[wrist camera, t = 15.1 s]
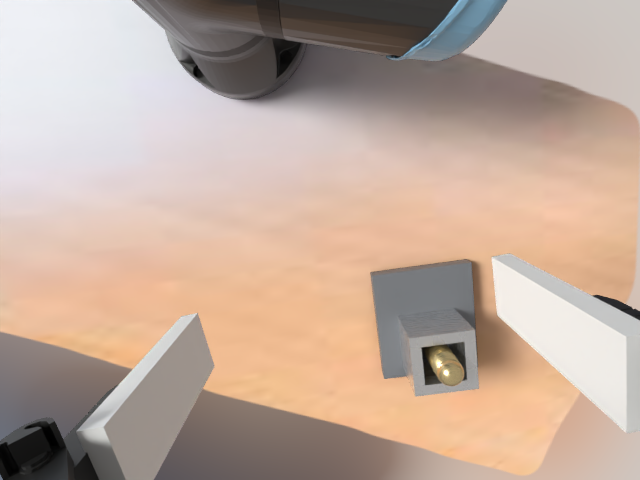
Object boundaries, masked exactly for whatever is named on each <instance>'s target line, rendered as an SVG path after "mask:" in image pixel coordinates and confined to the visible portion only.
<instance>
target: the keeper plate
mask: <svg viewBox="0 0 640 480" xmlns="http://www.w3.org/2000/svg"><path fill="white" fill-rule="evenodd" d="M370 273H371V281H372V290H373V298H374V306H375V314H376V323H377V331H378V339H379V348H380V356H381V364H382V372H383V376H384V379H388V378H396V377H404V376H407V375H406V373H405V370H404V368H403V364H402V355H401V346H400V337H399V328H398V319H397V315H405V314H412V313H420V312H427V311H434V310H442V309H449V308H454V309H455V310H456V311H457V312H458V313H459V314H460V315H461V316H462V317H463V318H464V319H465V320H466V321H467V322H468V323H469V324H470V325H471V326H472V327H473V328H474V329H475V337H476V328H475V311H474V295H473V279H472V262H470V261H468V260H467V259H465V260H457V261H450V262H443V263H435V264H428V265H420V266H413V267H406V268H398V269H391V270H384V271H376V272H370ZM476 352H477V344H476ZM422 355H424V353H423V351H422ZM477 367H478V360H477Z"/></svg>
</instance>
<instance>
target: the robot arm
mask: <svg viewBox="0 0 640 480" xmlns="http://www.w3.org/2000/svg"><path fill="white" fill-rule="evenodd" d="M132 1H133V2H134V3H136V4H137V5H138V6H139V7H140V8H141V9H142V10H143V11H144V12H146V13H147V14H148V15H149V16H150V17H151V18H152V19H153V20H154V21H156V22H157V23H158V24H159V25H160V26H161V27H162V28H163V29H164V30H165V32H166V35H167V38H168V41H169V44H170V46H171V48H172V51H173V52H174V54H175V56H176V58H177V59H178V61H179V62H180V64H181V65H182V66H183V68H184V69H185V70H186V71H187V72H188V73H189V74H190V75H191V76H192V77H193V78H194V79H195V80H197V81H198V82H199V83H201V84H202V85H203V86H205V87H206V88H208V89H209V90H211V91H213V92H215V93H217V94H219V95H222V96H225V97H229V98H234V99H251V98H257V97H261V96H264V95H266V94H268V93H271V92H272V91H274V90H276V89H277V88H279V87H280V86H281V85H283V84H284V83H285V82H286V81H287V80H288V79H289V78H290V77H291V76H292V74H293V73H294V72H295V70H296V69H297V67H298V65H299V64H300V62H301V59H302V57H303V55H304V52H305V48H306V44H314V45H320V46H327V47H334V48H340V49H347V50H353V51H360V52H366V53H373V54H379V55H386V57H387V58H388V59H391V60H395V61H398V60H403V59H417V60H426V61H443V60H446V59H448V58H449V57H453V56H454V55H458V54H459V53H461V52H463V51H464V50H465V49H466V48H468V47H469V46H470V45H471V44H472V43H474V42H475V41H476V40H477V39H478V38H479V37H480V36H481V35H482V33H483V32H484V31H485V30H486V29H487V28H488V27H489V25H490V24H491V23H492V22H493V20H494V19H495V17H496V16H497V15H498V13H499V12H500V11H501V9H502V8H503V6H504V5H505V3H506V2H507V0H132ZM492 266H493V276H494V286H495V297H496V307H497V315H498V316H499V317H500V318H501V319H502V320H503V321H504V322H505V323H506V324H507V325H509V326H510V327H511V328H512V329H513V330H514V331H515V332H516V333H517V334H518V335H519V336H521V337H522V338H523V339H524V340H525V341H526V342H527V343H528V344H529V345H530V346H532V347H533V348H534V349H535V350H536V351H537V352H538V353H539V354H540V355H541V356H542V357H544V358H545V359H546V360H547V361H548V362H549V363H550V364H551V365H552V366H553V367H554V368H556V369H557V370H558V371H559V372H560V373H561V374H562V375H563V376H564V377H565V378H567V379H568V380H569V381H570V382H571V383H572V384H573V385H574V386H575V387H576V388H577V389H579V390H580V391H581V392H582V393H583V394H584V395H585V396H586V397H587V398H588V399H590V400H591V401H592V402H593V403H594V404H595V405H596V406H597V407H598V408H599V409H600V410H602V411H603V412H604V413H605V414H606V415H607V416H608V417H609V418H610V419H611V420H612V421H614V422H615V423H616V424H617V425H618V426H619V427H620V428H621V429H622V430H623V431H625V432H626V433H632V432H638V431H640V311H638V310H636V309H632V307H630V306H628V305H626V304H624V303H622V302H620V301H618V300H615V299H611V298H607V297H603V296H600V295H594V296H591V295H589V294H588V293H586V292H584V291H582V290H580V289H578V288H576V287H574V286H572V285H570V284H568V283H566V282H564V281H562V280H560V279H558V278H557V277H555V276H553V275H551V274H549V273H547V272H545V271H543V270H541V269H539V268H537V267H535V266H533V265H531V264H529V263H527V262H525V261H524V260H522V259H520V258H518V257H516V256H514V255H512V254H504V255H499V256H494V257H492ZM213 368H214V363H213V360H212V357H211V354H210V350H209V347H208V344H207V341H206V338H205V335H204V332H203V328H202V325H201V322H200V319H199V316H198V313H196V314H191V315H185V316H181V317H180V318H179V320H178V321H177V322H176V323H175V324H174V325H173V326H172V327H171V328H170V329H169V330H168V332H167V333H166V334H165V335H164V336H163V337H162V338H161V339H160V340H159V341H158V342H157V344H156V345H155V346H154V347H153V348H152V349H151V350H150V351H149V352H148V353H147V354H146V356H145V357H144V358H143V359H142V360H141V361H140V362H139V363H138V364H137V365H136V367H135V368H134V369H133V370H132V371H131V372H130V373H129V374H128V375H127V376H126V378H125V379H124V380H123V381H122V382H121V383H119V384H118V385H117V386H115V387H114V388H112V389H111V390H110V391H108V392H107V393H106V394H105V395H104V397H102V398H101V400H100V401H99V402H98V403H97V405H96V406H94V407H93V408H92V409H91V410H90V411H89V412H88V415H86V416H85V417H84V418H83V419H82V420H81V421H80V422H79V423H78V424H77V425H76V426H75V428H73V430H72V431H71V432H70V433H69V434H68V435H67V436H66V437H65V438H64V439H63V438H62V436H61V434H60V432H59V430H58V427H57V425H56V423H55V421H54V420H53V419H52V418H43V419H39V420H35V421H33V422H31V423H28V424H26V425H24V426H22V427H20V428H19V429H17V430H15V431H13V432H12V433H11V434H9V435H8V436H6V437H5V438H3V439H2V440H1V441H0V475H1V477H2V478H3V480H154V478H155V476H156V474H157V473H158V471H159V469H160V467H161V465H162V463H163V461H164V459H165V458H166V456H167V454H168V452H169V450H170V448H171V446H172V445H173V443H174V441H175V439H176V437H177V435H178V433H179V431H180V430H181V428H182V426H183V424H184V422H185V420H186V418H187V417H188V415H189V413H190V411H191V409H192V407H193V405H194V404H195V402H196V400H197V398H198V396H199V394H200V392H201V390H202V389H203V387H204V385H205V383H206V381H207V379H208V377H209V376H210V374H211V372H212V370H213Z"/></svg>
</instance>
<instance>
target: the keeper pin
mask: <svg viewBox="0 0 640 480" xmlns="http://www.w3.org/2000/svg"><path fill="white" fill-rule="evenodd" d="M421 349H422V351H423V353H424V355H425V356H426V358H427V360H428V362H429V363H430V365H431V367H432V369H433V371H434V372H435V374H436V376H437V378H438V379H439V381H440V382H442V383H443V384H444V385H447V386H456V385H458V384H460V383H461V382H462V380H463V378H464V369H463V367H462V365H461V364H460V362H459V361H458V359H457V358H456V357H455V355H454V354H453V353H452V351H451V350H450V348H449V347H448V346H447V344H443V345H435V346H428V347H421Z"/></svg>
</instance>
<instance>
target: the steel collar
mask: <svg viewBox="0 0 640 480" xmlns="http://www.w3.org/2000/svg"><path fill="white" fill-rule="evenodd" d="M397 319H398V328H399V337H400V346H401V355H402V364H403V368H404V370H405V373H406V375H407V378H408V380H409V383H410V385H411V387H412V390H413V392H414V395H415V396H423V395H431V394H439V393H447V392H455V391H463V390H471V389H479V382H478V367H477V352H476V337H475V329H474V328H473V327H472V326H471V325H470V324H469V323H468V322H467V321H466V320H465V319H464V318H463V317H462V316H461V315H460V314H459V313H458V312H457V311H456V310H455V309H454V308H449V309H442V310H434V311H427V312H420V313H412V314H405V315H397ZM443 344H447V346H448V347H449V348H450V350H451V351H452V353H453V354H454V355H455V357H456V358H457V359H458V361H459V362H460V364H461V365H462V367H463V369H464V378H463V380H462V382H461V383H460V384H458V385H456V386H447V385H444V384H443V383H442V382H440V381H439V379H438V378H437V376H436V374H435V372H434V371H433V369H432V367H431V365H430V363H429V362H428V360H427V358H426V356H425V355H422V349H421V347H428V346H435V345H443Z"/></svg>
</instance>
